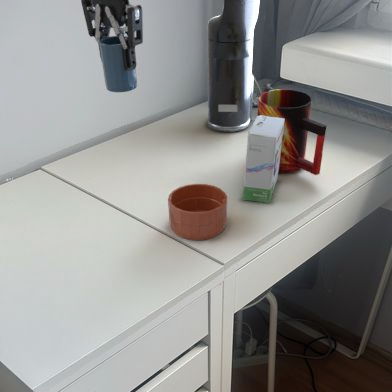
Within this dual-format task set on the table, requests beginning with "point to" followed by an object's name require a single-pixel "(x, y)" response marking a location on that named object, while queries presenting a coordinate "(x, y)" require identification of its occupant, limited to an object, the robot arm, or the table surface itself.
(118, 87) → the cup
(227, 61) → the robot arm
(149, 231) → the table surface
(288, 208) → the table surface
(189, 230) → the bowl
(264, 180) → the ink box
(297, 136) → the mug
